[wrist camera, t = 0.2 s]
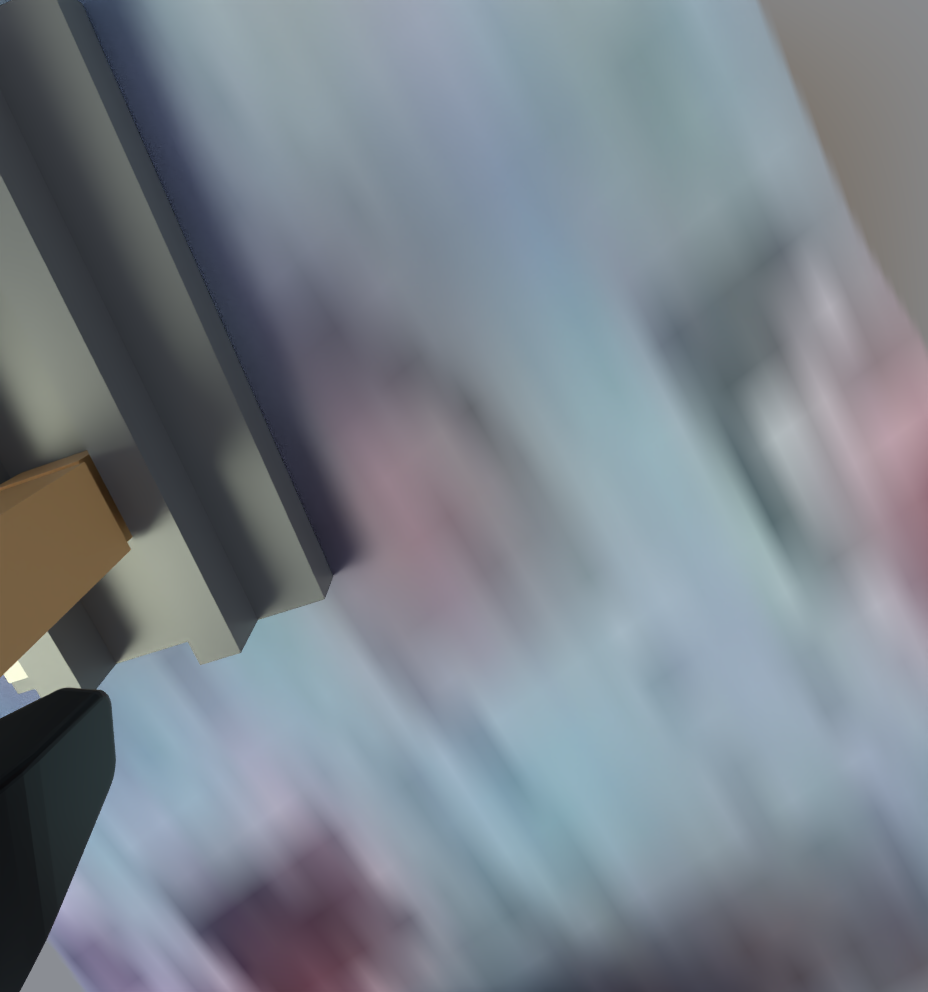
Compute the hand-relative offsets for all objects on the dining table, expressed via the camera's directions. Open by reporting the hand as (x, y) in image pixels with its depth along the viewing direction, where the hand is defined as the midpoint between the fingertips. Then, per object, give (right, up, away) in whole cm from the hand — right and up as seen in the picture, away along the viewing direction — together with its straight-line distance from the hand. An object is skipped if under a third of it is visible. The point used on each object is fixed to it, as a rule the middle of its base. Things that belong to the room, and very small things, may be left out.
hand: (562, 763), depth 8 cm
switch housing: (-12, +6, +14) cm, 19 cm away
